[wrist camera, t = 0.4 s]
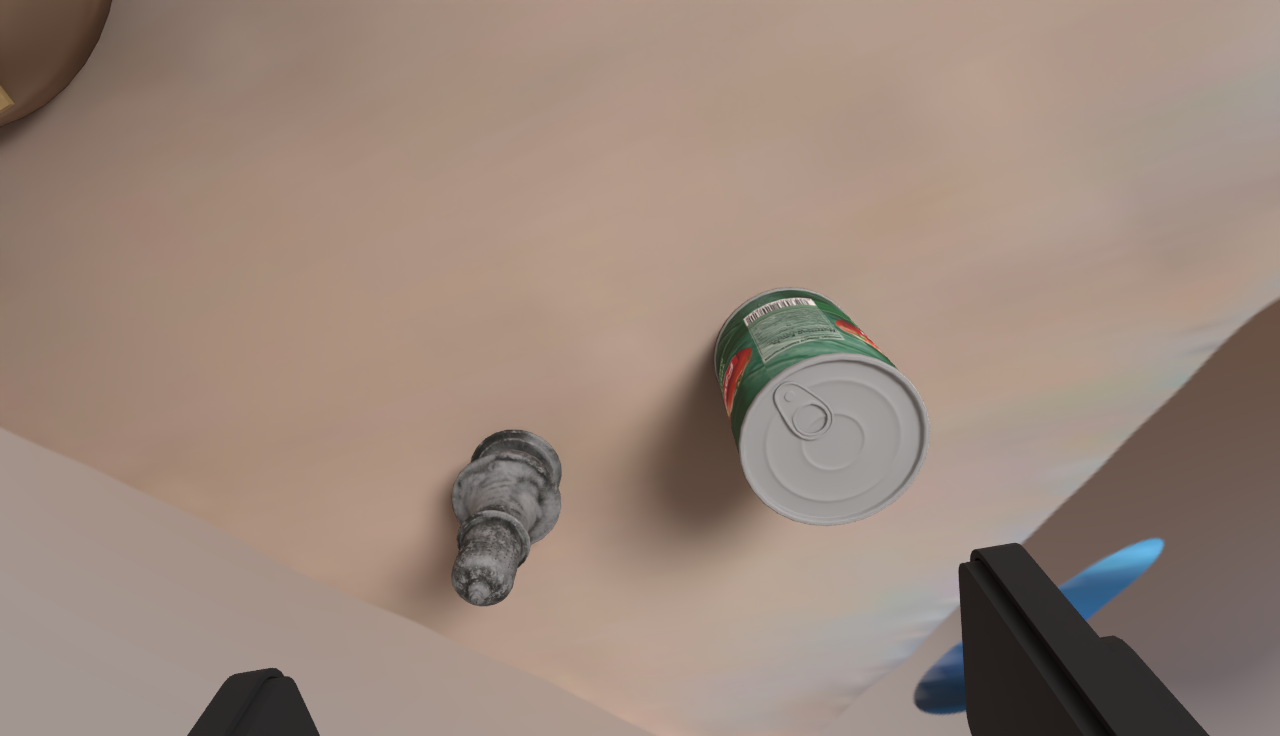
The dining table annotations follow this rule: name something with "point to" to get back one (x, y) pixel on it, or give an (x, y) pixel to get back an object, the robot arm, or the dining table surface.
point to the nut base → (43, 49)
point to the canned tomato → (817, 409)
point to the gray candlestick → (502, 512)
